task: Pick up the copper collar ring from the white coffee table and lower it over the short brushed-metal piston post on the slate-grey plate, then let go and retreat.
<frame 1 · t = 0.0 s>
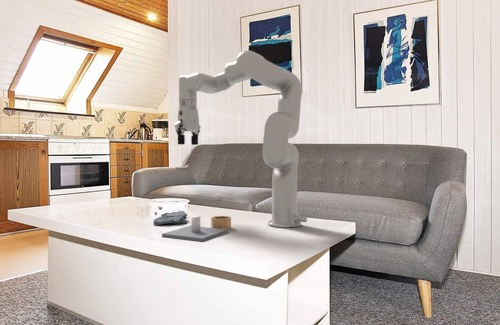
hand: (188, 144, 174), 31 cm above the table, fingers open, 9 cm apart
fossil: (173, 223, 161), on the table
piston post: (196, 234, 136), on the table
ring: (221, 228, 147), on the table
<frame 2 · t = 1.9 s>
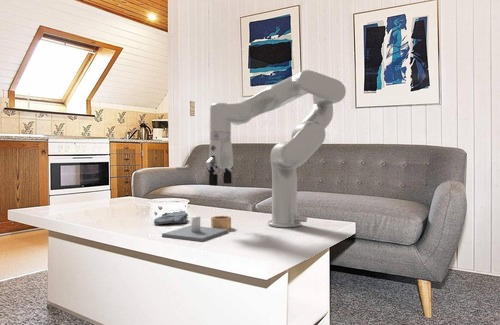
hand: (220, 184, 147), 16 cm above the table, fingers open, 9 cm apart
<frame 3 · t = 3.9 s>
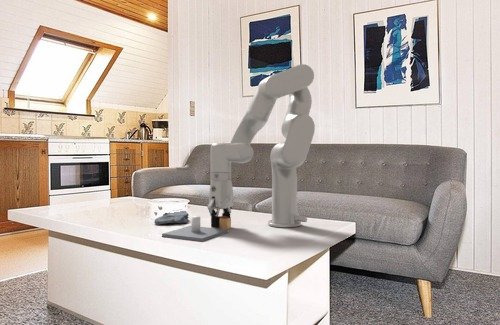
hand: (220, 225, 147), 1 cm above the table, fingers closed on ring, 6 cm apart
ring: (221, 228, 147), on the table, touching gripper
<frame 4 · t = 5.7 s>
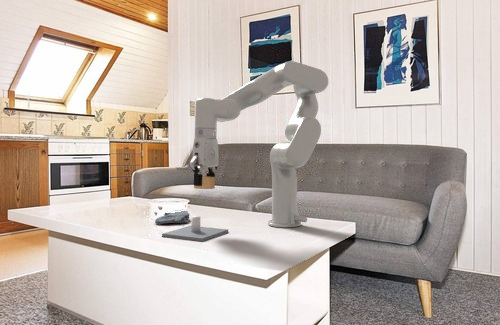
hand: (204, 184, 140), 17 cm above the table, fingers closed on ring, 6 cm apart
ring: (204, 188, 140), point 15 cm above the table, touching gripper
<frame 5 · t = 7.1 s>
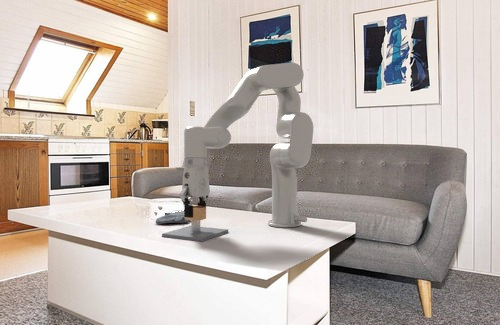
hand: (195, 215, 136), 7 cm above the table, fingers closed on ring, 6 cm apart
ring: (195, 218, 136), point 5 cm above the table, touching gripper
when the fingers open (4 cm above the table, at t = 8.0 s): ring drops 2 cm, resting on piston post.
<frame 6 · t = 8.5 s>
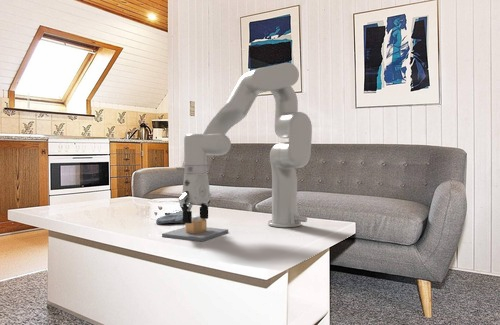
hand: (195, 220, 136), 5 cm above the table, fingers open, 9 cm apart
ring: (195, 231, 136), point 1 cm above the table, touching piston post
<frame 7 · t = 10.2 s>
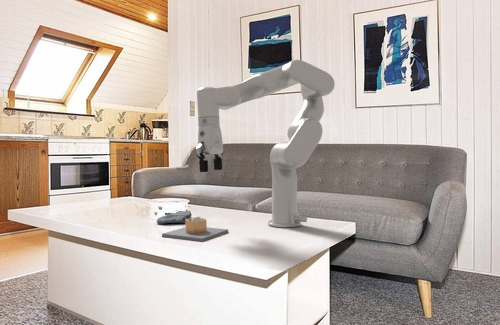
hand: (211, 170, 143), 21 cm above the table, fingers open, 9 cm apart
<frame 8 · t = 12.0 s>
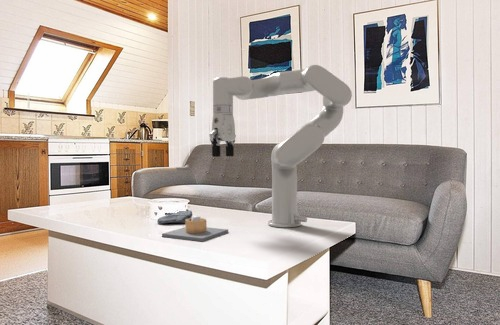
hand: (223, 156, 152), 26 cm above the table, fingers open, 9 cm apart
at the end: ring 0.1 cm off-centre on the piston post, point 1.0 cm above the piston post's base; ring tilted 0°; the gripper is holding nothing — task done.
